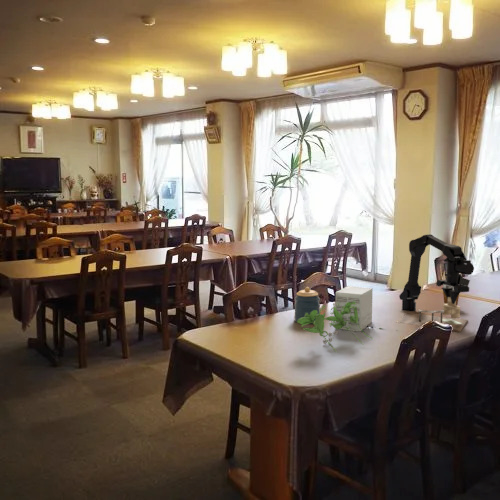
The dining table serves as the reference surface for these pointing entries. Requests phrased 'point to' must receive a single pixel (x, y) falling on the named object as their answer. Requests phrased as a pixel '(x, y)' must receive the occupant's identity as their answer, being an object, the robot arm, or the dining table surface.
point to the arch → (454, 308)
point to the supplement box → (363, 306)
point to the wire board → (422, 319)
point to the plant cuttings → (337, 317)
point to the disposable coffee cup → (447, 299)
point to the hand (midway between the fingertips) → (451, 303)
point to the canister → (306, 303)
